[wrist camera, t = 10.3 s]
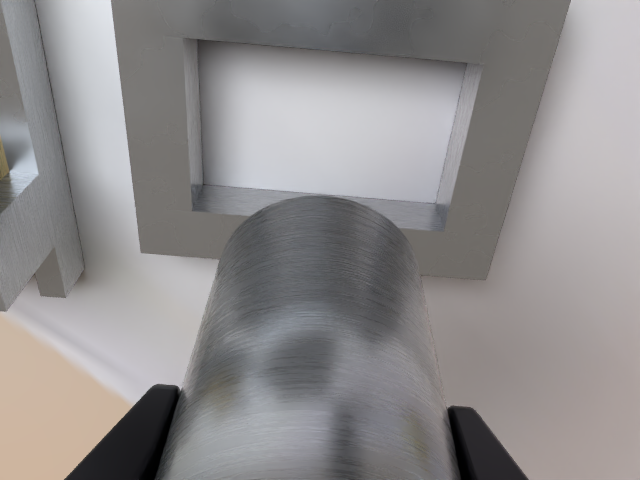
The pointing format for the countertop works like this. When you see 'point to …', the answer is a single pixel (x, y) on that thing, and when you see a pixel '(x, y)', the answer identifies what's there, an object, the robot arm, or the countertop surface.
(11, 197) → the key guide
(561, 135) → the countertop surface
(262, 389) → the peg
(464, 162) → the socket collar
